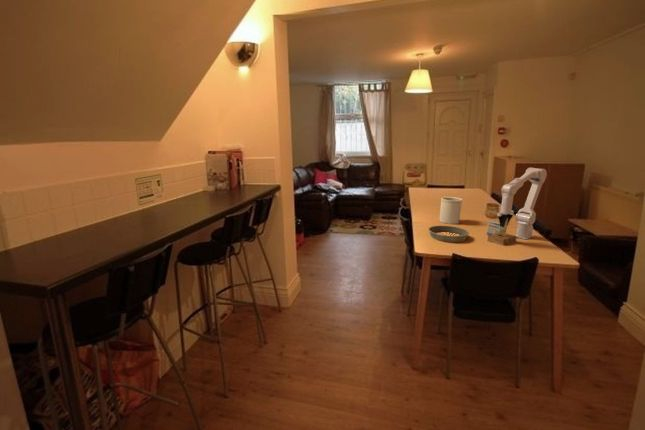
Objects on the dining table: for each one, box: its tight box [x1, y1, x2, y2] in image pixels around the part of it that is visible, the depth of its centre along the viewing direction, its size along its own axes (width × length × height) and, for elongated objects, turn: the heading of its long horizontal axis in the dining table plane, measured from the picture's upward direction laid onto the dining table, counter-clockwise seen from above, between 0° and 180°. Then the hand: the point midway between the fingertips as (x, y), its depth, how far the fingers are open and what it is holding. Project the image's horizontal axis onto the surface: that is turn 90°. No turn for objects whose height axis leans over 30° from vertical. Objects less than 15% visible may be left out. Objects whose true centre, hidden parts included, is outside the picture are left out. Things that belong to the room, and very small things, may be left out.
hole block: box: [487, 232, 518, 246], centre depth 215 cm, size 14×10×4 cm
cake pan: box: [427, 225, 470, 243], centre depth 222 cm, size 25×25×4 cm
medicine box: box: [486, 220, 501, 236], centre depth 226 cm, size 8×4×9 cm, turn 45°
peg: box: [500, 218, 508, 233], centre depth 212 cm, size 3×3×9 cm
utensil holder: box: [439, 196, 464, 225], centre depth 257 cm, size 15×15×18 cm
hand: (503, 226), depth 213 cm, fingers closed on peg, 3 cm apart
